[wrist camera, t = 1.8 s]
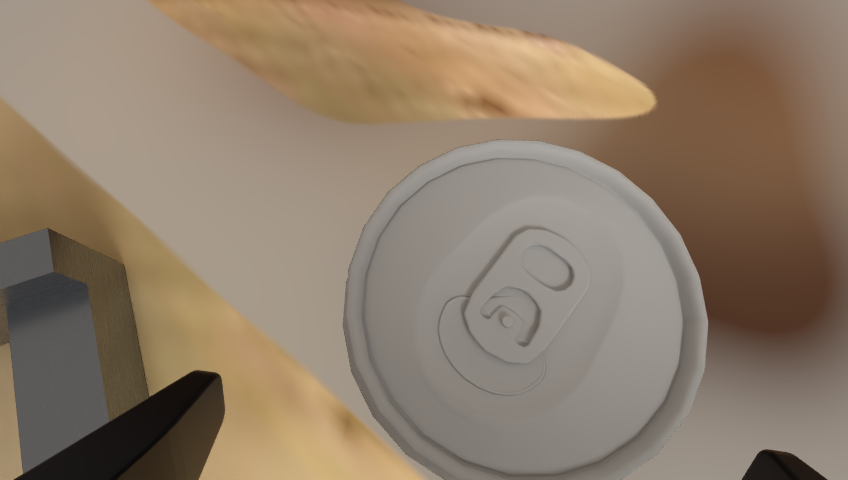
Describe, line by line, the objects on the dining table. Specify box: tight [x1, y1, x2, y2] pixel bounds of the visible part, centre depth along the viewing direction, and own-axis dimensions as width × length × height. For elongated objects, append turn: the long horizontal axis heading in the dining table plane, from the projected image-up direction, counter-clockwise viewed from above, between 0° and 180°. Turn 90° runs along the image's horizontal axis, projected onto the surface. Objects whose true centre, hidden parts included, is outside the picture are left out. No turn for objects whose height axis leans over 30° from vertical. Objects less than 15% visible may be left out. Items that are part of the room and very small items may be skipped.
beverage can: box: [343, 139, 708, 480], centre depth 11 cm, size 5×5×12 cm
